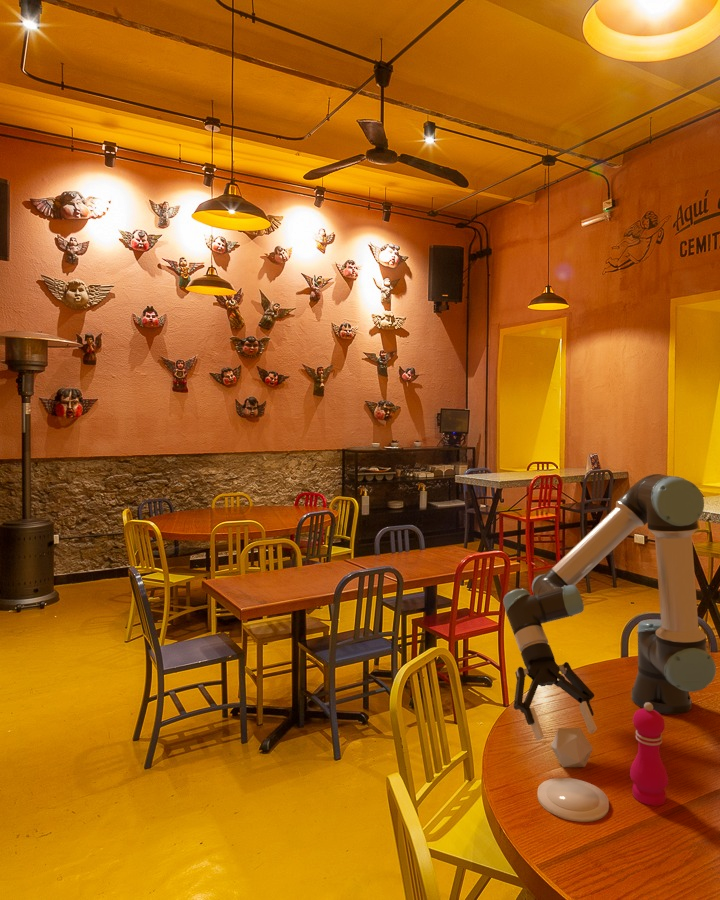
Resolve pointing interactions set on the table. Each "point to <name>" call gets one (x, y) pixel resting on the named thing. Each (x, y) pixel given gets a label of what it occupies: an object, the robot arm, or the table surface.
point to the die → (571, 747)
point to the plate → (573, 799)
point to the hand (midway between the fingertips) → (567, 735)
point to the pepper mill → (649, 758)
